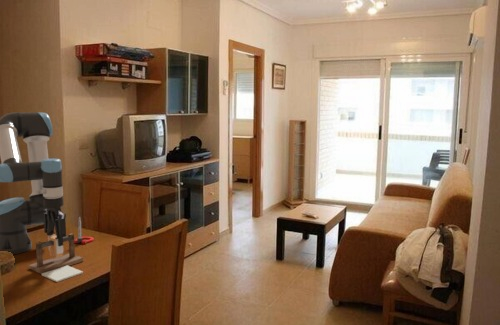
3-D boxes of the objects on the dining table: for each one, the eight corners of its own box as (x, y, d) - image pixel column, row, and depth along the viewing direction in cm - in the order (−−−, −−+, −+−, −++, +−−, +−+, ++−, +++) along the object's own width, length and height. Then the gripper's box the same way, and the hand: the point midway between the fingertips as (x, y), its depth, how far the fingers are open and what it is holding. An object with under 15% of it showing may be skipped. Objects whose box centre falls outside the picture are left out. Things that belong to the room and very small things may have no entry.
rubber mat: (41, 275, 169) (41, 273, 169) (67, 266, 178) (67, 265, 178) (56, 282, 163) (56, 280, 163) (83, 273, 172) (83, 271, 171)
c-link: (49, 255, 180) (48, 236, 179) (56, 253, 182) (55, 235, 181) (56, 257, 177) (55, 239, 176) (63, 255, 179) (62, 237, 178)
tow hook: (81, 238, 216) (70, 243, 207) (80, 213, 215) (70, 217, 206) (96, 239, 215) (87, 244, 206) (96, 214, 214) (86, 218, 205)
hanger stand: (29, 268, 176) (27, 241, 174) (70, 256, 190) (68, 230, 188) (42, 274, 170) (40, 246, 168) (83, 261, 184) (82, 235, 183)
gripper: (32, 195, 178) (36, 249, 181) (56, 201, 168) (59, 259, 171) (50, 192, 184) (53, 244, 187) (74, 198, 174) (76, 253, 177)
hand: (56, 251), depth 179 cm, fingers closed on c-link, 5 cm apart
